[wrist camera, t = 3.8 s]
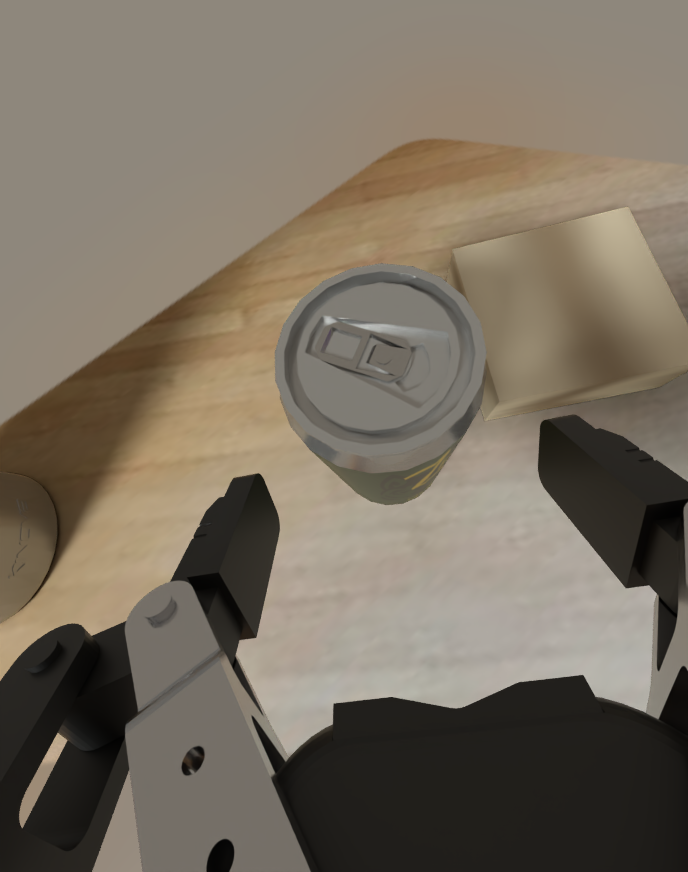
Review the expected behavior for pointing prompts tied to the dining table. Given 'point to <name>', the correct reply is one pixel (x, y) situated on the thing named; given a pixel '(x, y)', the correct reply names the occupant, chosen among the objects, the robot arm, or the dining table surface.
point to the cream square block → (570, 314)
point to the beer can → (382, 376)
